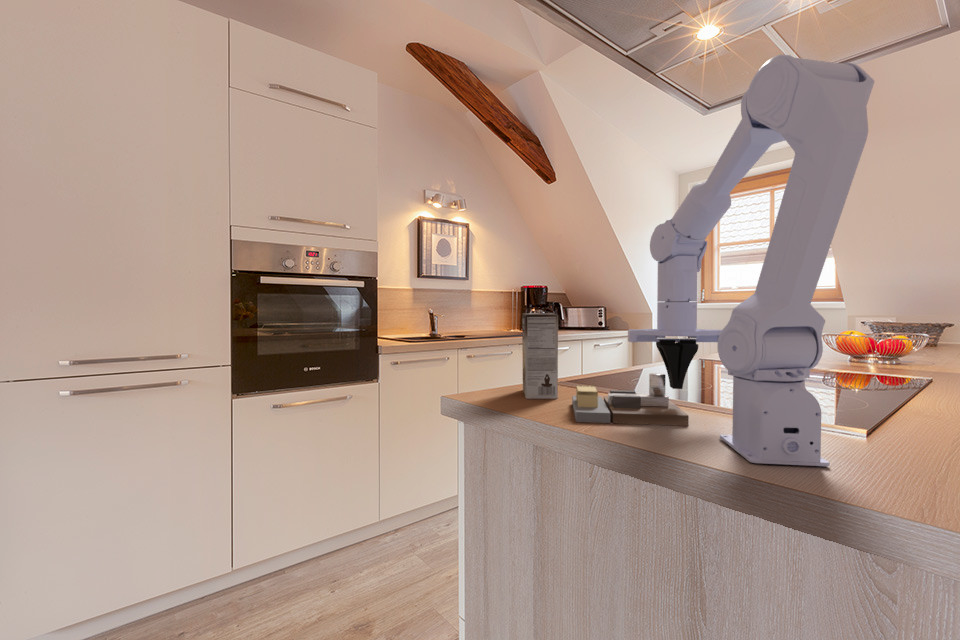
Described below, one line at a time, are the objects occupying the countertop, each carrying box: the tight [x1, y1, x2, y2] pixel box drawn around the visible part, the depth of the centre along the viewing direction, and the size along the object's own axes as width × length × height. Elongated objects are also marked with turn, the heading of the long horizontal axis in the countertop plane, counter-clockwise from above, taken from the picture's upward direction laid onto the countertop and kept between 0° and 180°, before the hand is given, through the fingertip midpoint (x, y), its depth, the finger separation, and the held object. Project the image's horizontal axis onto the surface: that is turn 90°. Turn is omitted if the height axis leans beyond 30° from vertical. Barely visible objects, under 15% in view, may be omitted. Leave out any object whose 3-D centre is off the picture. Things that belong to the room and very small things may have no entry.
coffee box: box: [521, 312, 559, 400], centre depth 87 cm, size 9×6×16 cm
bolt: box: [607, 372, 670, 407], centre depth 71 cm, size 2×9×5 cm, turn 81°
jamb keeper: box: [571, 384, 611, 424], centre depth 72 cm, size 12×5×4 cm, turn 171°
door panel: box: [603, 389, 690, 427], centre depth 71 cm, size 12×11×3 cm
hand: (676, 387), depth 70 cm, fingers closed
